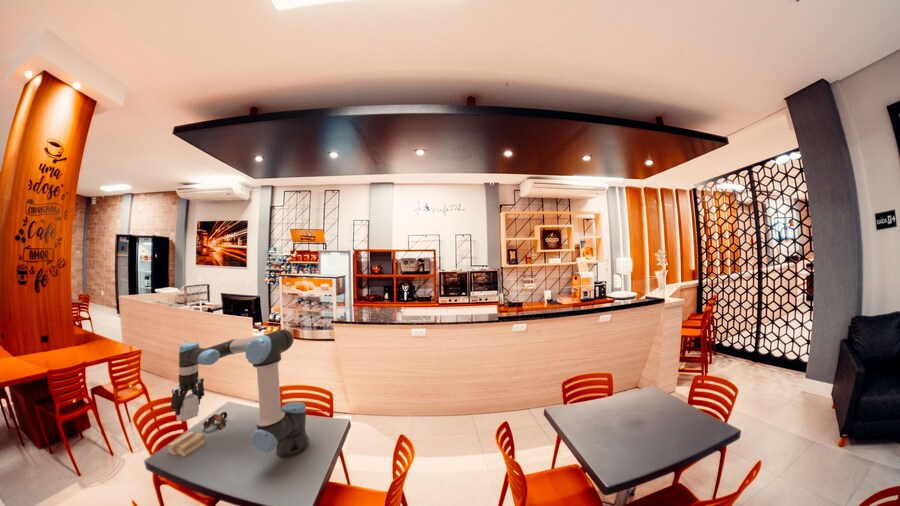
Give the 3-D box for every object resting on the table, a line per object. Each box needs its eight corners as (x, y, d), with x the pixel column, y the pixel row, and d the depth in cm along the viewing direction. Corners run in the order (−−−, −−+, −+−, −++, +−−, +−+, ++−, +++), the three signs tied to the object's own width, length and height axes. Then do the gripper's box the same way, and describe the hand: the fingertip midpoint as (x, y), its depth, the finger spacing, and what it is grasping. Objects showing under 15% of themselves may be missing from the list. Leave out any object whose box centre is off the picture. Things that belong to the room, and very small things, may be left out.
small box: (197, 416, 145) (198, 396, 145) (183, 421, 141) (184, 401, 140) (192, 411, 149) (192, 392, 149) (178, 416, 145) (178, 396, 144)
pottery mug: (218, 433, 157) (209, 423, 156) (205, 438, 159) (196, 428, 157) (235, 416, 169) (226, 406, 167) (223, 420, 170) (215, 411, 169)
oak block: (204, 443, 149) (204, 434, 149) (184, 457, 139) (184, 447, 139) (189, 440, 151) (189, 431, 151) (168, 453, 141) (168, 444, 141)
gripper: (202, 364, 155) (202, 404, 155) (160, 380, 136) (159, 426, 136) (214, 365, 154) (213, 406, 154) (172, 382, 134) (171, 428, 135)
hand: (187, 415), depth 145 cm, fingers closed on small box, 7 cm apart
